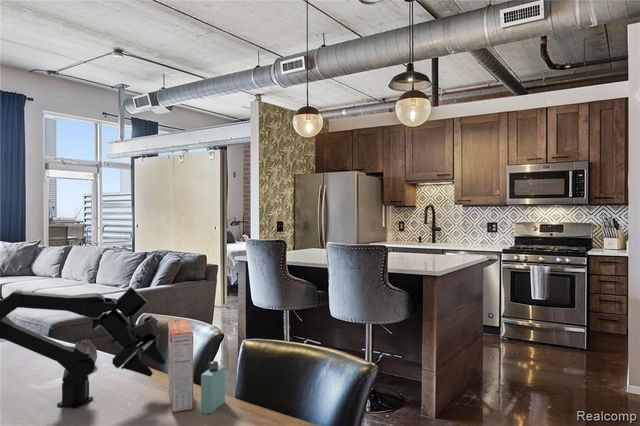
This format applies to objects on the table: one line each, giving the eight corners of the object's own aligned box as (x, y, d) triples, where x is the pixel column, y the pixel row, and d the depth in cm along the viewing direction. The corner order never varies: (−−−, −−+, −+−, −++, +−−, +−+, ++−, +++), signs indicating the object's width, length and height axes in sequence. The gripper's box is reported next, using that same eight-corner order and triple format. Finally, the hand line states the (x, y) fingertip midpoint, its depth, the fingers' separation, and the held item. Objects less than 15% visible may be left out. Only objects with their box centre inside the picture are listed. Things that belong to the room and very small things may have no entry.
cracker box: (167, 393, 135) (167, 320, 135) (189, 390, 137) (189, 319, 137) (169, 413, 122) (170, 333, 122) (193, 410, 124) (194, 331, 124)
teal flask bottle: (211, 414, 122) (211, 368, 122) (201, 412, 122) (201, 367, 122) (225, 401, 129) (225, 358, 129) (215, 400, 130) (215, 357, 130)
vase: (101, 363, 160) (101, 338, 160) (89, 370, 153) (89, 343, 153) (82, 362, 160) (82, 337, 160) (69, 369, 154) (69, 343, 154)
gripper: (123, 317, 122) (165, 360, 122) (153, 302, 141) (189, 339, 140) (94, 346, 122) (135, 389, 122) (127, 328, 141) (163, 365, 141)
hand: (158, 369), depth 131 cm, fingers open, 9 cm apart
